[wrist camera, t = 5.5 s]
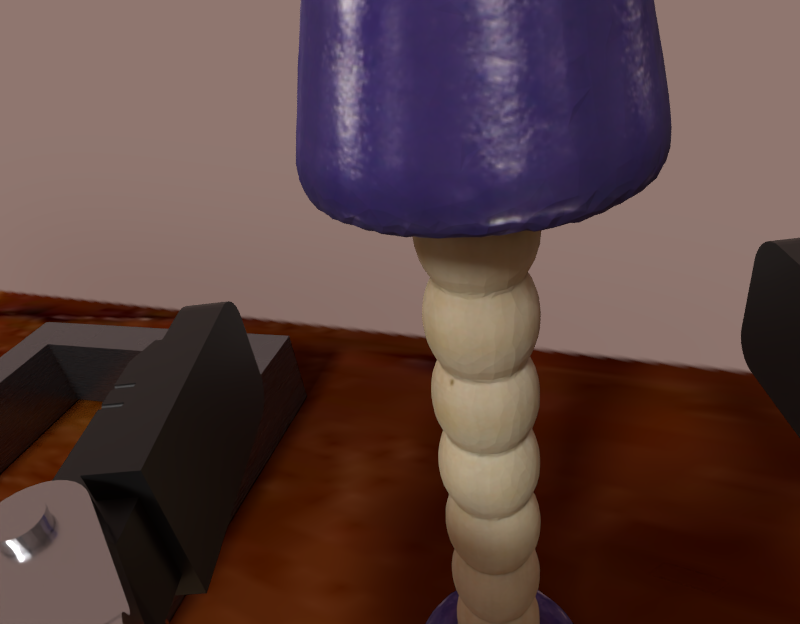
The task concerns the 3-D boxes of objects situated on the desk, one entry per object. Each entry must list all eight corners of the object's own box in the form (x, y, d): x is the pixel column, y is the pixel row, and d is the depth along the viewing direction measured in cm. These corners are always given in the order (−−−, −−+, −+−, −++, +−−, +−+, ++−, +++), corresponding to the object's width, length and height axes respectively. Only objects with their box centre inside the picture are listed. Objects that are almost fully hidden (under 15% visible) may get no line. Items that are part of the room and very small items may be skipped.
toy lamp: (474, 553, 18) (383, -176, 9) (642, 629, 15) (755, -277, 6) (381, 710, 14) (85, -181, 6) (573, 839, 12) (604, -398, 3)
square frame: (76, 374, 28) (46, 322, 27) (306, 396, 25) (289, 335, 23) (-193, 617, 19) (-263, 558, 17) (113, 711, 15) (61, 647, 14)
